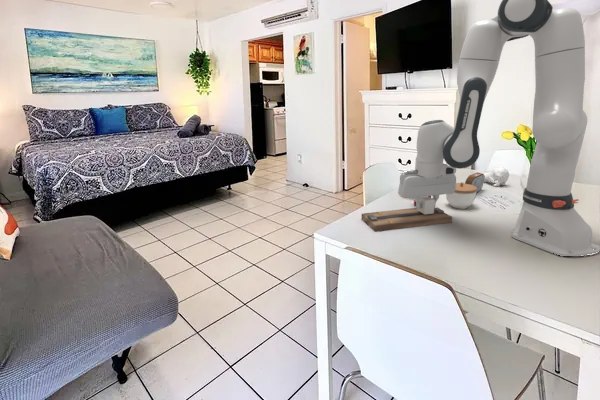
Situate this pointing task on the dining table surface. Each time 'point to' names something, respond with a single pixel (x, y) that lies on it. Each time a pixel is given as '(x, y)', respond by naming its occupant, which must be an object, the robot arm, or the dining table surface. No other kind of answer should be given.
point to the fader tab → (427, 205)
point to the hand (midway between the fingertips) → (425, 207)
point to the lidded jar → (462, 195)
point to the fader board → (404, 219)
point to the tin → (476, 180)
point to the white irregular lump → (497, 176)
